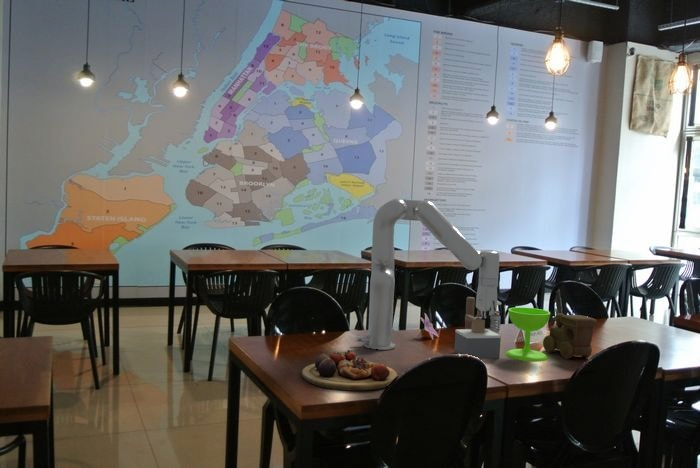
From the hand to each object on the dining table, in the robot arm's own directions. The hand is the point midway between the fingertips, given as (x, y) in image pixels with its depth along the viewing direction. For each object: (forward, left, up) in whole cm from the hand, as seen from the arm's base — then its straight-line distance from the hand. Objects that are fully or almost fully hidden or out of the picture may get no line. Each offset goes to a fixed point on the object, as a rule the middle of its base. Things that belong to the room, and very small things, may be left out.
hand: (485, 327), depth 252 cm
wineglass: (+15, -7, -10) cm, 19 cm away
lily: (-14, +27, -10) cm, 32 cm away
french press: (+20, +36, -10) cm, 43 cm away
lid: (-5, -4, -3) cm, 7 cm away
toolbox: (-5, -2, -10) cm, 11 cm away
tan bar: (0, +10, -1) cm, 10 cm away
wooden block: (+8, +25, -10) cm, 29 cm away
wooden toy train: (+33, -7, -10) cm, 35 cm away
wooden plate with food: (-62, -28, -11) cm, 69 cm away
